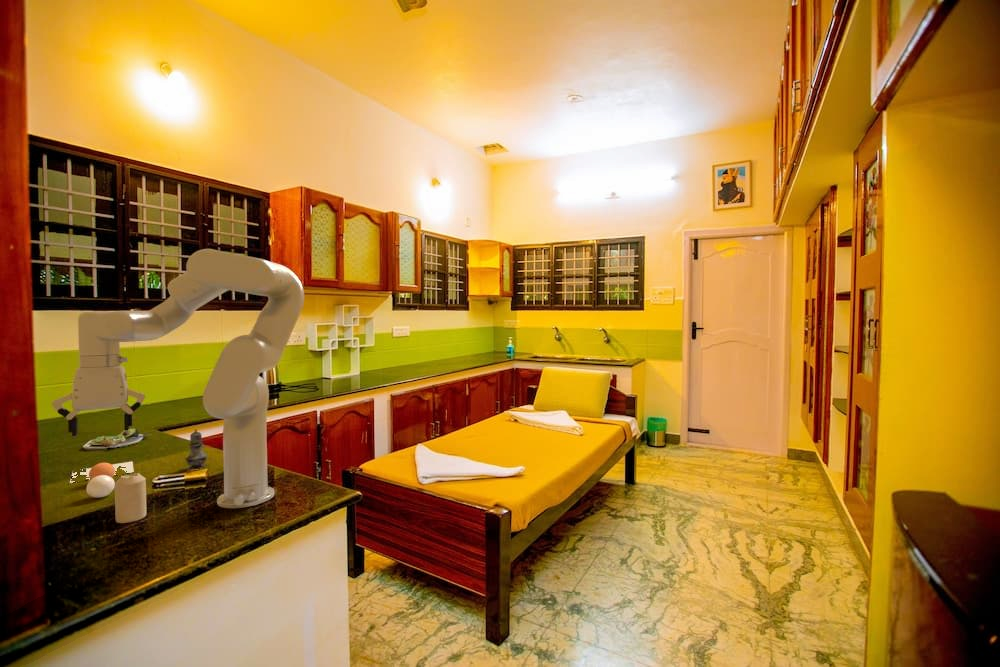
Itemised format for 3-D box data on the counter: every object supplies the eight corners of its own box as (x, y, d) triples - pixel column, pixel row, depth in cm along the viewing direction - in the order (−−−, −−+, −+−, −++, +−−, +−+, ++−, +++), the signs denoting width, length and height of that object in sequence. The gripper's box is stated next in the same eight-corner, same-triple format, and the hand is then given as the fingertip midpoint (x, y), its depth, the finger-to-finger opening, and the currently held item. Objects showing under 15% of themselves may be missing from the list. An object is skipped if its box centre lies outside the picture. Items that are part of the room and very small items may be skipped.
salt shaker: (196, 471, 137) (195, 431, 137) (180, 470, 139) (179, 431, 138) (212, 465, 143) (211, 427, 143) (196, 464, 144) (195, 426, 144)
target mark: (133, 472, 137) (133, 472, 137) (69, 483, 128) (69, 482, 128) (132, 461, 148) (132, 461, 148) (73, 471, 139) (73, 470, 139)
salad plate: (138, 449, 165) (138, 436, 165) (73, 455, 157) (73, 442, 157) (151, 437, 182) (151, 425, 182) (93, 442, 174) (93, 430, 174)
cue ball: (111, 498, 117) (111, 477, 117) (83, 502, 114) (82, 480, 114) (117, 491, 122) (117, 470, 122) (90, 495, 119) (89, 474, 119)
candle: (142, 511, 109) (141, 469, 109) (149, 517, 105) (148, 474, 105) (112, 519, 105) (111, 475, 104) (119, 525, 101) (117, 480, 101)
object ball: (112, 483, 128) (111, 464, 127) (86, 487, 125) (85, 467, 125) (117, 478, 132) (116, 459, 132) (92, 481, 130) (92, 461, 130)
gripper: (145, 359, 120) (146, 424, 121) (54, 363, 110) (55, 434, 111) (144, 361, 114) (145, 430, 115) (47, 365, 104) (49, 440, 105)
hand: (101, 432), depth 113 cm, fingers open, 9 cm apart
